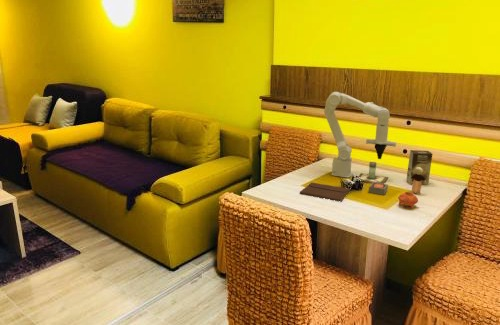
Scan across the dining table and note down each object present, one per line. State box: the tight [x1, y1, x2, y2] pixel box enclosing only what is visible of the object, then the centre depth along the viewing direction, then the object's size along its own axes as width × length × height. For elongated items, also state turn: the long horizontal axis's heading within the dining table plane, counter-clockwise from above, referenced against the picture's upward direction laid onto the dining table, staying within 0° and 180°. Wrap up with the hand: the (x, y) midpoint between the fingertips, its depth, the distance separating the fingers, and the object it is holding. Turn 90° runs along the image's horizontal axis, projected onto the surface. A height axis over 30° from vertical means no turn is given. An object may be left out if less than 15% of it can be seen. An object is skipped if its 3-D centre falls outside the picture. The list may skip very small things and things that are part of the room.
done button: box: [374, 184, 383, 188], centre depth 192 cm, size 4×4×2 cm
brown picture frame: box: [357, 172, 389, 185], centre depth 209 cm, size 14×12×1 cm
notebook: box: [299, 182, 352, 203], centre depth 191 cm, size 15×20×2 cm
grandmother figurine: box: [409, 167, 427, 195], centre depth 189 cm, size 8×4×13 cm, turn 62°
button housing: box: [368, 183, 389, 196], centre depth 192 cm, size 7×7×3 cm
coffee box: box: [405, 149, 433, 186], centre depth 202 cm, size 9×6×16 cm
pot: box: [398, 191, 419, 209], centre depth 174 cm, size 8×8×7 cm
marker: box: [368, 161, 377, 179], centre depth 207 cm, size 3×3×8 cm
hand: (379, 158), depth 209 cm, fingers closed
